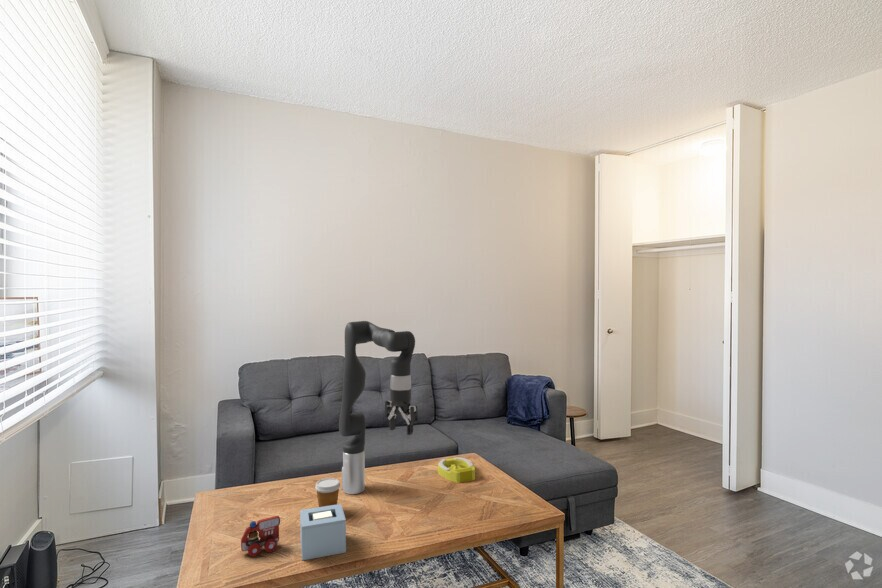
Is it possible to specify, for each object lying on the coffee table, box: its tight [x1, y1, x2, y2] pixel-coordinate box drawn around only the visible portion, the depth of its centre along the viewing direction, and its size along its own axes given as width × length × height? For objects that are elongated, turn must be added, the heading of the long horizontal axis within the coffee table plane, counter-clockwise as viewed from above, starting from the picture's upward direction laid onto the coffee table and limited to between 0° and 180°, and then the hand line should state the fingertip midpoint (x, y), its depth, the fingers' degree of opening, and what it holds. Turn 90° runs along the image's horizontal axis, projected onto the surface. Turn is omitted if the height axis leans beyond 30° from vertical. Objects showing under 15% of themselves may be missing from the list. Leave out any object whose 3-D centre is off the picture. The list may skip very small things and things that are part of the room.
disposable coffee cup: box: [314, 477, 341, 507], centre depth 185 cm, size 10×10×12 cm
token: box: [313, 511, 332, 521], centre depth 161 cm, size 6×4×10 cm, turn 112°
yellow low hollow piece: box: [437, 456, 476, 484], centre depth 223 cm, size 16×21×5 cm
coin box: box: [299, 503, 347, 561], centre depth 161 cm, size 14×12×11 cm
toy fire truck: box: [240, 515, 281, 557], centre depth 159 cm, size 7×12×10 cm, turn 118°
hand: (401, 432), depth 170 cm, fingers open, 8 cm apart
